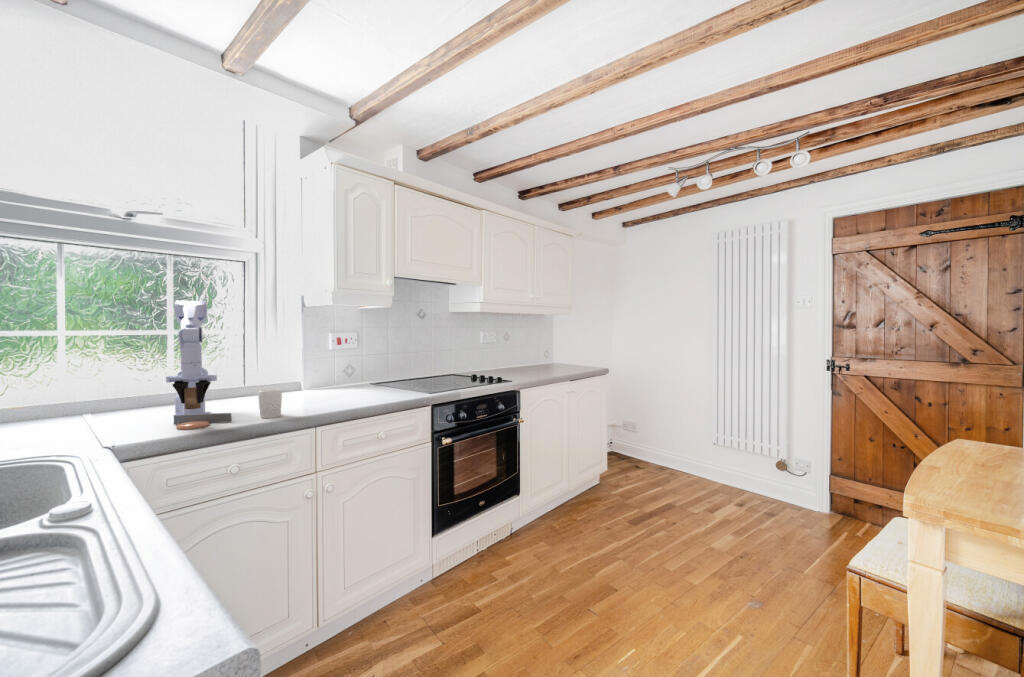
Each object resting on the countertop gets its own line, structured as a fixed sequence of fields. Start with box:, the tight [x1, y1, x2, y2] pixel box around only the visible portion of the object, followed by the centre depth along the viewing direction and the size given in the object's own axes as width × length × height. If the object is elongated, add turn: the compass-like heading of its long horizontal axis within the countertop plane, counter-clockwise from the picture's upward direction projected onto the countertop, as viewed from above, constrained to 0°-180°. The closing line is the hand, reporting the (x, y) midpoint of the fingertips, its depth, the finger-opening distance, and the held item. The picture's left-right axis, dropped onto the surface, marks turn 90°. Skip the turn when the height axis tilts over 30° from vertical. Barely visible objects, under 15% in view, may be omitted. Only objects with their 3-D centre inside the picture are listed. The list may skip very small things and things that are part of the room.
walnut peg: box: [184, 387, 201, 409], centre depth 148 cm, size 4×4×7 cm
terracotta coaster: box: [175, 421, 210, 431], centre depth 149 cm, size 9×9×1 cm
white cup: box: [257, 388, 283, 419], centre depth 165 cm, size 8×8×10 cm
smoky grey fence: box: [173, 412, 232, 425], centre depth 155 cm, size 18×1×3 cm, turn 100°
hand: (192, 402), depth 148 cm, fingers closed on walnut peg, 4 cm apart
